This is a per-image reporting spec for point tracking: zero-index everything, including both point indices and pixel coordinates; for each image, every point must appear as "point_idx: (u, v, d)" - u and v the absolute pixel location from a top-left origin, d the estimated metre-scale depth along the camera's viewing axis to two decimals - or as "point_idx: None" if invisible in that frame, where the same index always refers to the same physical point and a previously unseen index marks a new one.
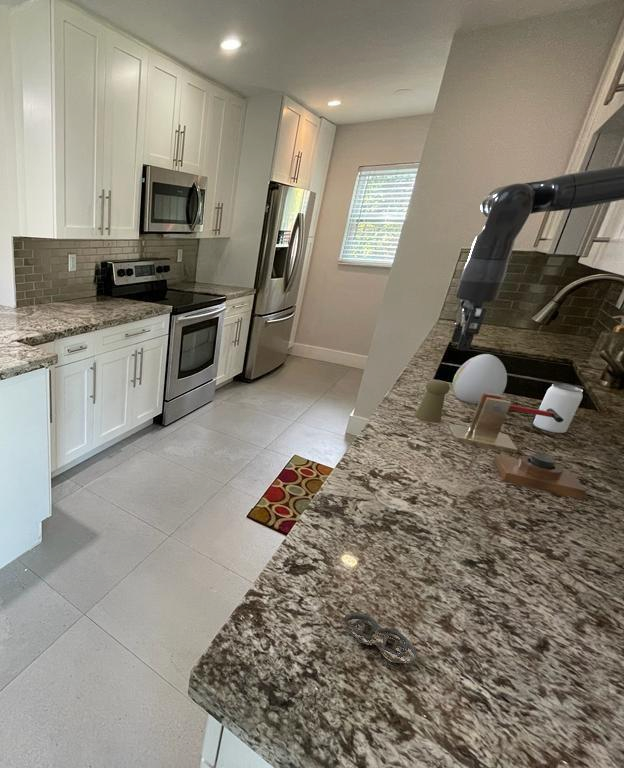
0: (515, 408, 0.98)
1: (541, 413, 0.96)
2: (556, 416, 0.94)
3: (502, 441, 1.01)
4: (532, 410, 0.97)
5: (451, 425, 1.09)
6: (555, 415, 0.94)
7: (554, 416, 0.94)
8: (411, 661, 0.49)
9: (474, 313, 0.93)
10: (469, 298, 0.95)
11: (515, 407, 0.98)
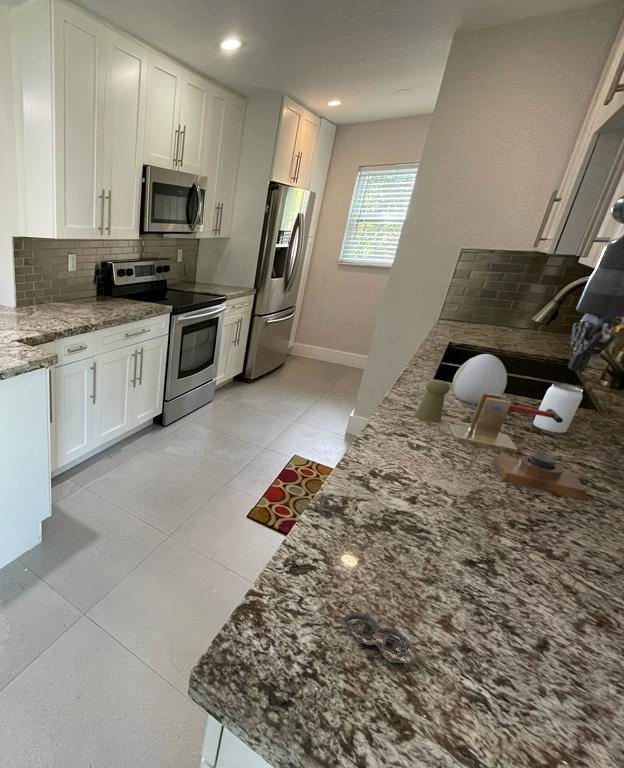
0: (515, 408, 0.98)
1: (541, 413, 0.96)
2: (556, 416, 0.94)
3: (502, 441, 1.01)
4: (532, 410, 0.97)
5: (451, 425, 1.09)
6: (555, 415, 0.94)
7: (554, 416, 0.94)
8: (411, 661, 0.49)
9: (599, 340, 0.84)
10: (598, 313, 0.85)
11: (515, 407, 0.98)
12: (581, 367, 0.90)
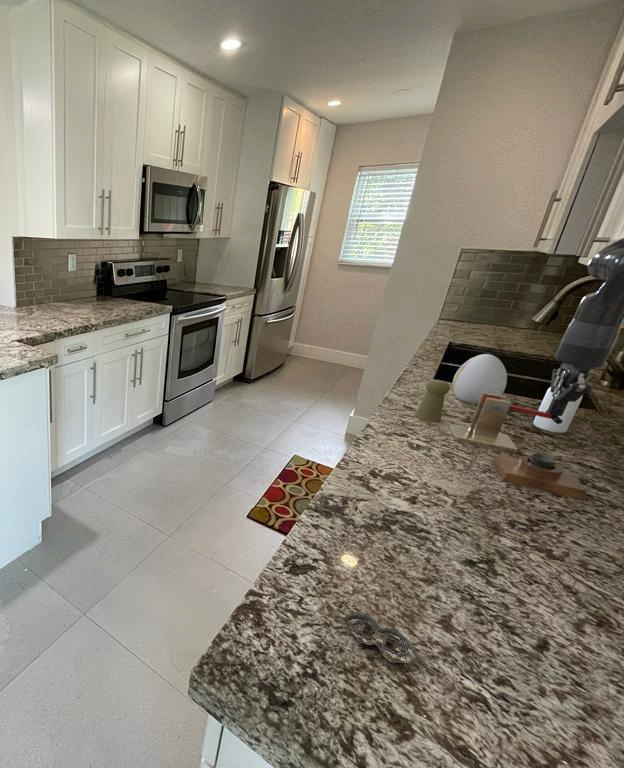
0: (515, 408, 0.98)
1: (540, 414, 0.96)
2: (555, 418, 0.94)
3: (502, 441, 1.01)
4: (532, 411, 0.97)
5: (451, 425, 1.09)
6: (554, 417, 0.94)
7: (553, 417, 0.94)
8: (411, 661, 0.49)
9: (575, 389, 0.88)
10: (574, 363, 0.89)
11: (515, 408, 0.98)
12: (559, 412, 0.94)
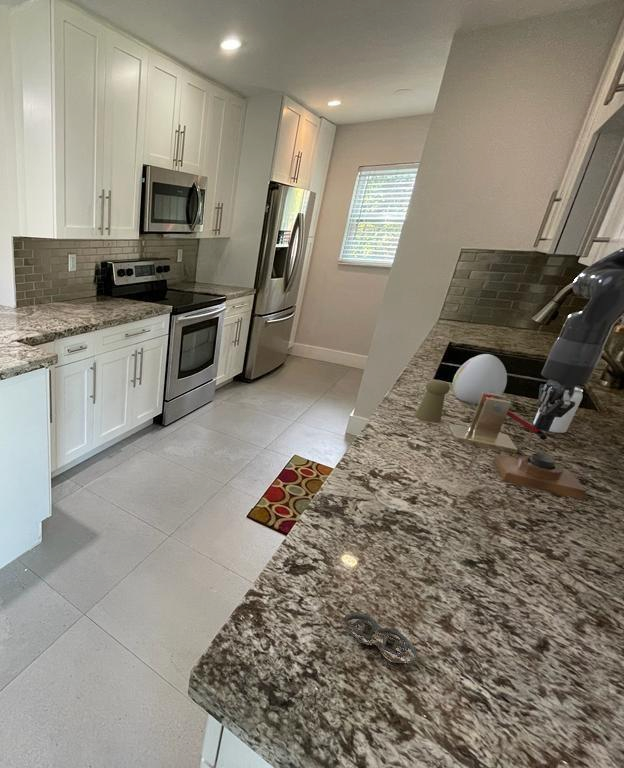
0: (510, 414, 0.99)
1: (529, 426, 0.98)
2: (542, 433, 0.96)
3: (502, 441, 1.01)
4: (523, 421, 0.98)
5: (451, 425, 1.09)
6: (541, 432, 0.96)
7: (540, 433, 0.96)
8: (411, 661, 0.49)
9: (560, 406, 0.90)
10: (559, 380, 0.91)
11: (511, 413, 0.99)
12: (546, 427, 0.96)
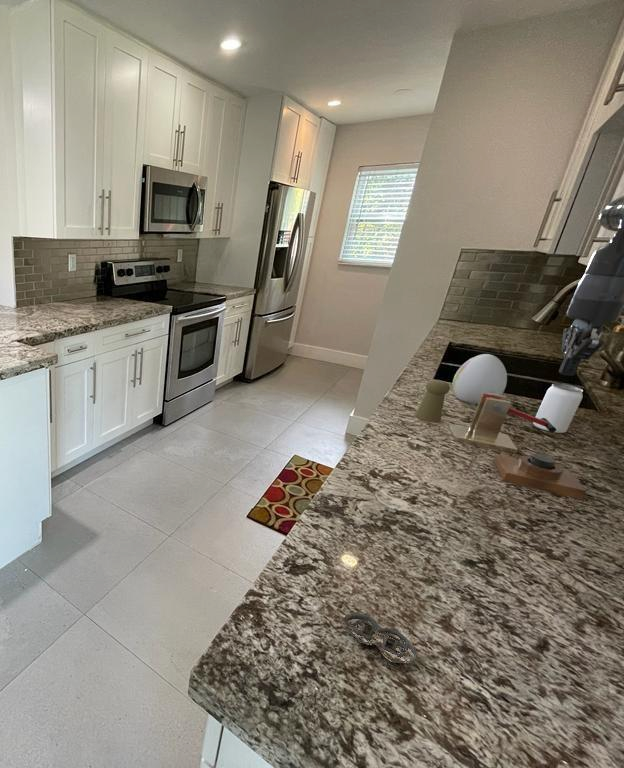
0: (513, 411, 0.99)
1: (536, 421, 0.97)
2: (550, 426, 0.95)
3: (502, 441, 1.01)
4: (528, 416, 0.97)
5: (451, 425, 1.09)
6: (549, 425, 0.95)
7: (548, 425, 0.95)
8: (411, 661, 0.49)
9: (588, 345, 0.85)
10: (587, 318, 0.86)
11: (513, 410, 0.98)
12: (571, 371, 0.91)
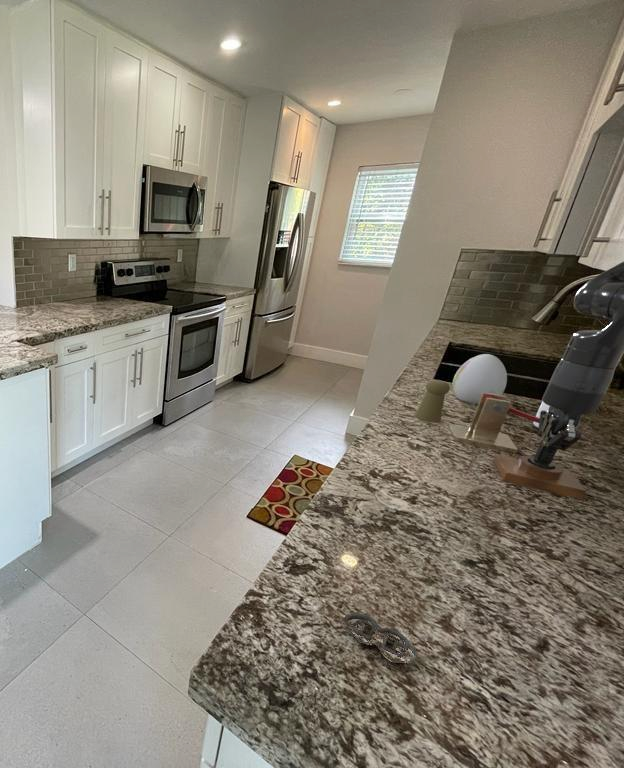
0: (513, 411, 0.98)
1: (536, 420, 0.97)
2: None
3: (502, 441, 1.01)
4: (529, 416, 0.97)
5: (451, 425, 1.09)
6: None
7: None
8: (411, 661, 0.49)
9: (564, 438, 0.79)
10: (563, 408, 0.79)
11: (513, 410, 0.98)
12: (547, 460, 0.84)
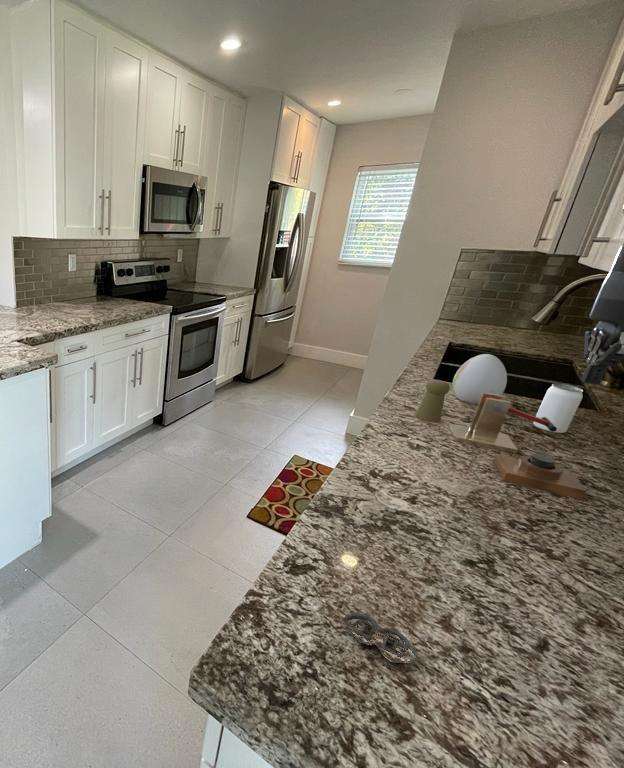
0: (513, 411, 0.98)
1: (536, 420, 0.97)
2: (551, 425, 0.95)
3: (502, 441, 1.01)
4: (529, 416, 0.97)
5: (451, 425, 1.09)
6: (550, 424, 0.95)
7: (548, 425, 0.95)
8: (411, 661, 0.49)
9: (616, 351, 0.76)
10: (614, 321, 0.76)
11: (513, 410, 0.98)
12: (596, 380, 0.81)
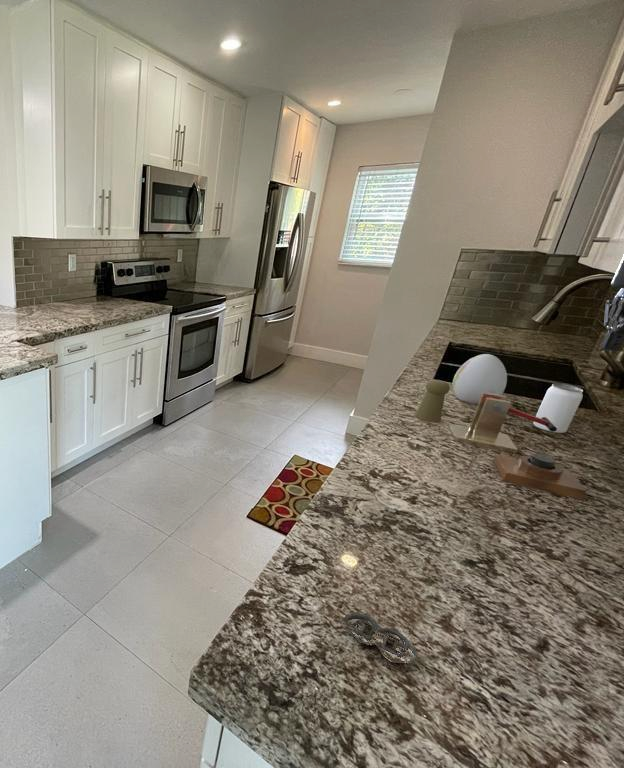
0: (513, 411, 0.98)
1: (536, 420, 0.97)
2: (551, 425, 0.95)
3: (502, 441, 1.01)
4: (529, 416, 0.97)
5: (451, 425, 1.09)
6: (550, 424, 0.95)
7: (548, 425, 0.95)
8: (411, 661, 0.49)
9: None
10: None
11: (513, 410, 0.98)
12: (616, 346, 0.83)
